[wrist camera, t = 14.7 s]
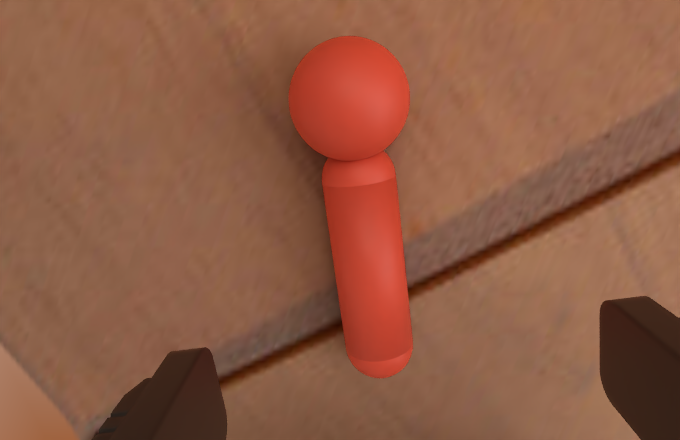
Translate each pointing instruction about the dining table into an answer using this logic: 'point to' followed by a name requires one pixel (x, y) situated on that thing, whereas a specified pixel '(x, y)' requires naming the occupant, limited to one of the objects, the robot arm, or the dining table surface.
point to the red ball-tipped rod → (360, 190)
